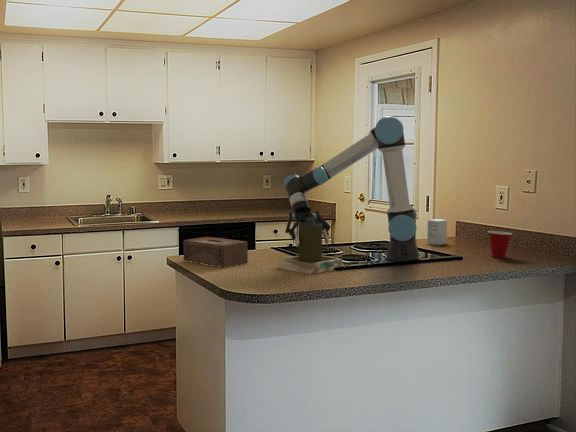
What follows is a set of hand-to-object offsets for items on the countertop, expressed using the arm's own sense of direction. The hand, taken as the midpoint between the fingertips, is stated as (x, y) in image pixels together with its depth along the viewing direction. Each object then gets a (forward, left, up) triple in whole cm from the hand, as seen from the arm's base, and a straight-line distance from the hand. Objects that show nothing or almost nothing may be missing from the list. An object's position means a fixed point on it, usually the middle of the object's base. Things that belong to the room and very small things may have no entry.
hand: (313, 243), depth 295 cm
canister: (-1, -3, -9) cm, 10 cm away
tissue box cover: (+21, -41, -11) cm, 47 cm away
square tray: (-1, -2, -11) cm, 11 cm away
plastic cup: (-84, +38, -11) cm, 93 cm away
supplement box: (-97, -6, -11) cm, 98 cm away
